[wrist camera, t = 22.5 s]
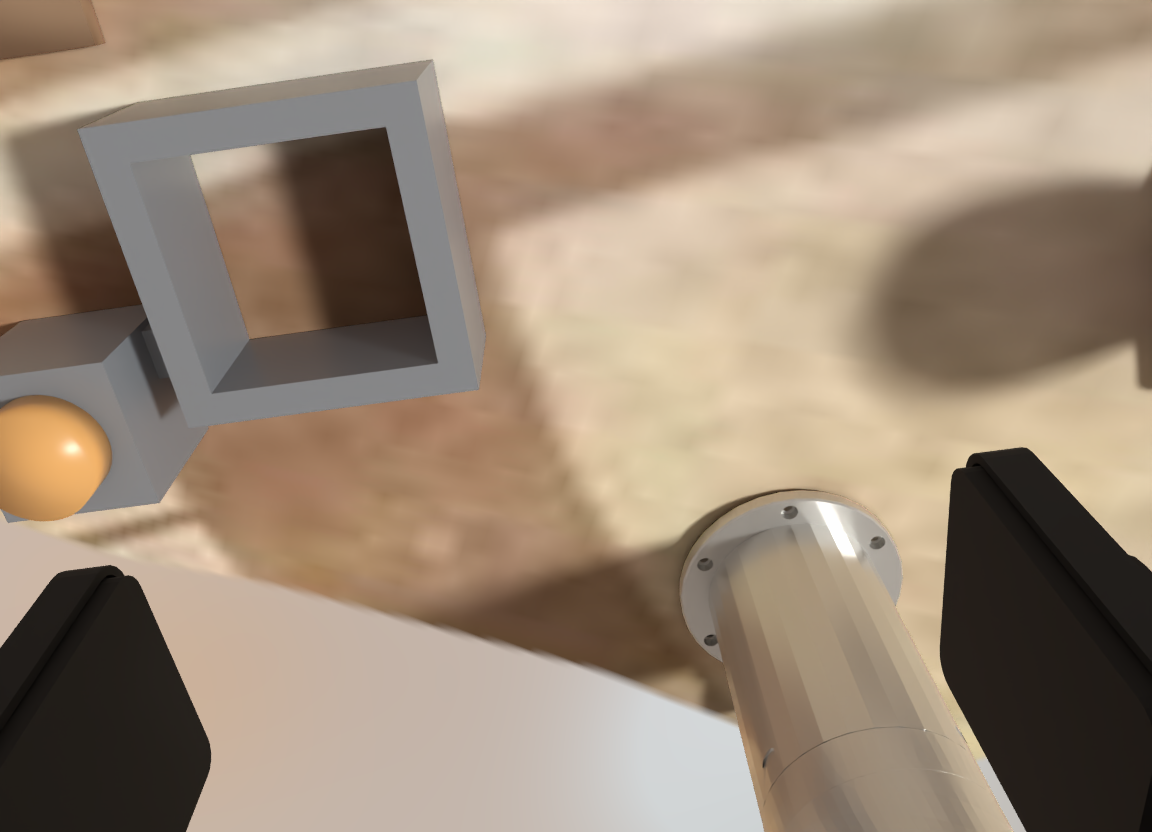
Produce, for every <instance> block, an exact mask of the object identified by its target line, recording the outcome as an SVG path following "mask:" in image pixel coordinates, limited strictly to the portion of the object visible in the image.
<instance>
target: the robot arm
mask: <svg viewBox="0 0 1152 832" xmlns="http://www.w3.org/2000/svg"><path fill="white" fill-rule="evenodd" d="M902 581H903V572H902V561H901V558H900V555H899V552H898V549H897V546H896V544H895V542H894V541H893V539H892V537H891V535H890V534H889V532H888V530H887V529H886V528H885V526H884V525H883V524H882V523H881V522H880V520H879V519H878V518H877V517H876V516H875V515H874V514H872V513H871V512H870V511H868V510H867V509H866V508H864V507H863V506H862V505H860V504H858V503H856V502H854V501H851V500H849V499H847V498H845V497H842V496H838V495H834V494H831V493H827V492H820V491H807V490H798V491H787V492H778V493H774V494H770V495H766V496H762V497H758V498H756V499H754V500H751V501H749V502H747V503H744V504H742V505H740V506H737V507H736V508H734V509H733V510H731V511H729V512H728V513H726V514H725V515H723V516H722V517H720V518H719V519H718V520H717V521H715V522H714V523H713V524H712V525H711V526H710V527H709V528H708V529H706V530H705V531H704V532H703V534H702V535H701V536H700V538H699V539H698V540H697V541H696V543H695V544H694V545H693V547H692V548H691V550H690V552H689V554H688V556H687V558H686V560H685V562H684V565H683V569H682V573H681V577H680V591H679V597H680V602H681V608H682V613H683V616H684V619H685V622H686V625H687V628H688V630H689V631H690V633H691V634H692V636H693V637H694V639H695V640H696V642H697V643H698V644H699V645H700V646H701V647H702V648H703V649H704V650H705V651H706V652H707V653H708V654H709V655H711V656H713V657H714V658H716V659H717V660H719V661H720V662H722V663H723V665H724V669H725V673H726V677H727V681H728V685H729V689H730V693H731V697H732V701H733V705H734V709H735V713H736V717H737V721H738V725H739V729H740V734H741V738H742V742H743V746H744V750H745V754H746V758H747V762H748V766H749V770H750V774H751V778H752V782H753V786H754V790H755V794H756V798H757V802H758V806H759V810H760V815H761V818H762V823H763V828H764V832H1014V831H1013V829H1012V827H1011V826H1010V824H1009V822H1008V820H1007V818H1006V817H1005V815H1004V813H1003V811H1002V810H1001V808H1000V806H999V804H998V802H997V800H996V798H995V796H994V795H993V793H992V791H991V789H990V787H989V785H988V783H987V781H986V780H985V777H984V776H983V774H982V772H981V770H980V768H979V766H978V764H977V762H976V760H975V758H974V756H973V754H972V752H971V750H970V748H969V746H968V744H967V742H966V741H965V739H964V737H963V735H962V733H961V731H960V729H959V727H958V725H957V723H956V722H955V720H954V718H953V716H952V714H951V712H950V710H949V708H948V706H947V704H946V703H945V701H944V699H943V697H942V695H941V693H940V691H939V689H938V687H937V685H936V683H935V681H934V679H933V678H932V676H931V674H930V672H929V670H928V668H927V666H926V664H925V662H924V660H923V658H922V656H921V654H920V653H919V651H918V649H917V647H916V645H915V643H914V641H913V639H912V637H911V635H910V633H909V631H908V629H907V628H906V626H905V624H904V622H903V620H902V618H901V616H900V614H899V612H898V610H897V608H896V604H897V602H898V599H899V597H900V593H901V587H902ZM940 660H941V666H942V670H943V674H944V677H945V679H946V682H947V684H948V686H949V688H950V690H951V692H952V693H953V695H954V697H955V699H956V701H957V703H958V705H959V707H960V708H961V710H962V712H963V714H964V716H965V718H966V720H967V722H968V723H969V725H970V727H971V729H972V731H973V733H974V735H975V736H976V738H977V740H978V742H979V744H980V746H981V748H982V750H983V751H984V753H985V755H986V757H987V759H988V761H989V762H990V764H991V766H992V768H993V770H994V772H995V774H996V776H997V778H998V779H999V781H1000V783H1001V785H1002V787H1003V789H1004V791H1005V792H1006V794H1007V796H1008V798H1009V800H1010V802H1011V804H1012V806H1013V807H1014V809H1015V811H1016V813H1017V815H1018V817H1019V819H1020V820H1021V822H1022V824H1023V826H1024V828H1025V830H1026V832H1152V572H1151V571H1150V570H1149V569H1148V567H1147V566H1145V565H1144V564H1143V563H1142V562H1141V561H1139V560H1138V559H1137V558H1136V557H1133V556H1130V555H1128V554H1127V553H1126V552H1125V551H1124V550H1123V549H1122V548H1121V547H1120V546H1119V544H1118V543H1117V542H1116V541H1115V540H1114V539H1113V538H1112V537H1111V536H1110V535H1109V534H1108V533H1107V532H1106V531H1105V529H1104V528H1103V527H1102V526H1101V525H1100V524H1099V523H1098V522H1097V521H1096V520H1095V519H1094V518H1093V517H1092V516H1091V514H1090V513H1089V512H1088V511H1087V510H1086V509H1085V508H1084V507H1083V506H1082V505H1081V504H1080V503H1079V502H1078V500H1077V499H1076V498H1075V497H1074V496H1073V495H1072V494H1071V493H1070V492H1069V491H1068V490H1067V489H1066V488H1065V487H1064V485H1063V484H1062V483H1061V482H1060V481H1059V480H1058V479H1057V478H1056V477H1055V476H1054V475H1053V474H1052V473H1051V471H1050V470H1049V469H1048V468H1047V467H1046V466H1045V465H1044V464H1043V463H1042V462H1041V461H1040V460H1039V459H1038V458H1037V456H1036V455H1035V454H1034V453H1033V452H1032V451H1030V450H1029V449H1028V448H1023V447H1021V448H1013V449H1005V450H997V451H990V452H982V453H974V454H972V455H971V456H970V457H969V459H968V461H967V464H966V468H959V469H956V470H955V471H954V472H953V474H952V479H951V490H950V505H949V519H948V534H947V549H946V564H945V579H944V594H943V609H942V623H941V638H940ZM210 763H211V749H210V743H209V740H208V738H207V735H206V733H205V731H204V728H203V726H202V724H201V722H200V719H199V717H198V715H197V713H196V710H195V708H194V706H193V703H192V701H191V699H190V697H189V695H188V692H187V690H186V688H185V685H184V683H183V681H182V679H181V676H180V674H179V672H178V670H177V667H176V665H175V663H174V660H173V658H172V656H171V654H170V651H169V649H168V647H167V645H166V642H165V640H164V638H163V635H162V633H161V631H160V629H159V626H158V624H157V622H156V620H155V617H154V615H153V613H152V611H151V608H150V606H149V604H148V601H147V599H146V597H145V595H144V593H143V590H142V588H141V586H140V584H139V582H138V581H137V580H136V579H135V578H134V577H133V576H129V575H128V576H124V574H123V573H122V571H121V570H119V569H118V568H117V567H115V566H111V565H108V566H100V567H93V568H85V569H77V570H69V571H64V572H61V573H58V574H57V575H56V576H55V577H54V578H53V579H52V580H51V581H50V582H49V584H48V585H47V586H46V588H45V589H44V590H43V592H42V593H41V594H40V596H39V597H38V598H37V600H36V601H35V603H34V604H33V605H32V607H31V608H30V609H29V611H28V612H27V613H26V614H25V616H24V617H23V619H22V620H21V621H20V623H19V624H18V625H17V627H16V628H15V629H14V631H13V632H12V633H11V635H10V636H9V637H8V639H7V640H6V641H5V643H4V644H3V645H2V647H1V648H0V832H186V830H187V827H188V825H189V822H190V820H191V817H192V815H193V812H194V809H195V807H196V804H197V802H198V799H199V797H200V794H201V792H202V789H203V786H204V784H205V781H206V779H207V776H208V773H209V770H210Z"/></svg>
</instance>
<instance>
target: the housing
mask: <svg viewBox="0 0 1152 832" xmlns="http://www.w3.org/2000/svg"><path fill="white" fill-rule="evenodd" d="M381 127H386V129H387V134H388V138H389V143H390V147H391V152H392V156H393V161H394V166H395V170H396V175H397V179H398V184H399V188H400V193H401V197H402V202H403V206H404V211H405V215H406V220H407V224H408V229H409V233H410V238H411V242H412V247H413V251H414V256H415V260H416V265H417V269H418V274H419V278H420V283H421V288H422V292H423V297H424V301H425V306H426V310H427V315H426V316H418V317H411V318H404V319H396V320H389V321H382V322H374V323H367V324H360V325H352V326H345V327H338V328H330V329H323V330H316V331H308V332H301V333H294V334H286V335H279V336H272V337H264V338H257V339H250V340H249V336H248V333H247V330H246V327H245V324H244V321H243V318H242V315H241V312H240V309H239V305H238V302H237V299H236V296H235V293H234V290H233V287H232V284H231V281H230V277H229V274H228V271H227V268H226V265H225V262H224V259H223V256H222V253H221V250H220V246H219V243H218V240H217V237H216V234H215V231H214V228H213V225H212V222H211V218H210V215H209V212H208V209H207V206H206V203H205V200H204V197H203V194H202V191H201V187H200V184H199V181H198V178H197V175H196V172H195V169H194V166H193V163H192V159H191V156H190V155H192V154H199V153H206V152H213V151H220V150H227V149H234V148H241V147H248V146H255V145H262V144H269V143H276V142H283V141H290V140H297V139H304V138H311V137H318V136H325V135H332V134H339V133H346V132H353V131H360V130H367V129H374V128H381ZM77 131H78V133H79V136H80V139H81V141H82V144H83V147H84V149H85V152H86V155H87V157H88V160H89V163H90V165H91V168H92V171H93V173H94V176H95V179H96V181H97V184H98V187H99V190H100V192H101V195H102V198H103V200H104V203H105V206H106V208H107V211H108V214H109V216H110V219H111V222H112V224H113V227H114V230H115V232H116V235H117V238H118V240H119V243H120V246H121V248H122V251H123V254H124V256H125V259H126V262H127V264H128V267H129V270H130V273H131V275H132V278H133V281H134V283H135V286H136V289H137V291H138V294H139V297H140V299H141V302H142V305H135V306H128V307H121V308H113V309H106V310H99V311H92V312H84V313H77V314H70V315H63V316H55V317H48V318H41V319H34V320H26V321H21V322H19V323H18V324H17V325H15V326H14V327H13V328H11V329H10V330H9V331H8V332H6V333H5V334H4V335H2V336H1V337H0V409H1V408H2V407H3V406H4V405H6V404H7V403H9V402H10V401H12V400H14V399H17V398H20V397H24V396H30V395H45V396H52V397H56V398H60V399H63V400H66V401H68V402H70V403H72V404H74V405H77V406H78V407H80V408H81V409H83V410H84V411H86V412H87V413H88V414H90V415H91V416H92V417H93V418H94V419H95V420H96V421H97V422H98V423H99V425H100V426H101V427H102V429H103V430H104V432H105V433H106V435H107V437H108V439H109V442H110V445H111V449H112V465H111V468H110V471H109V473H108V475H107V477H106V478H105V479H104V481H103V482H102V483H101V485H100V486H99V487H98V488H97V490H96V491H95V492H94V494H93V495H92V496H91V497H90V499H89V500H88V501H87V502H86V504H85V505H84V506H83V507H82V508H81V509H80V510H79V511H77V512H76V513H75V514H79V513H87V512H94V511H102V510H109V509H117V508H125V507H132V506H140V505H148V504H155V503H160V501H161V500H162V498H163V497H164V495H165V494H166V492H167V491H168V489H169V488H170V486H171V485H172V483H173V482H174V480H175V479H176V477H177V476H178V474H179V472H180V471H181V469H182V468H183V466H184V465H185V463H186V462H187V460H188V459H189V457H190V456H191V454H192V453H193V451H194V450H195V448H196V447H197V445H198V444H199V442H200V441H201V439H202V438H203V436H204V435H205V433H206V432H207V430H208V426H211V425H218V424H226V423H233V422H240V421H248V420H255V419H263V418H270V417H278V416H285V415H293V414H300V413H308V412H315V411H323V410H330V409H338V408H345V407H353V406H360V405H368V404H375V403H383V402H390V401H398V400H405V399H413V398H420V397H428V396H435V395H443V394H450V393H458V392H465V391H473V390H479V385H480V378H481V370H482V363H483V355H484V348H485V340H486V333H485V328H484V323H483V318H482V313H481V307H480V302H479V297H478V292H477V287H476V281H475V276H474V271H473V266H472V260H471V255H470V250H469V245H468V240H467V234H466V229H465V224H464V219H463V214H462V208H461V203H460V198H459V193H458V188H457V182H456V177H455V172H454V167H453V161H452V156H451V151H450V146H449V141H448V135H447V130H446V125H445V120H444V115H443V109H442V104H441V99H440V94H439V89H438V83H437V78H436V73H435V68H434V62H433V60H426V61H419V62H412V63H405V64H399V65H392V66H385V67H378V68H371V69H364V70H357V71H350V72H343V73H337V74H330V75H323V76H316V77H309V78H302V79H295V80H288V81H281V82H274V83H268V84H261V85H254V86H247V87H240V88H233V89H226V90H219V91H212V92H206V93H199V94H192V95H185V96H178V97H171V98H164V99H157V100H150V101H143V102H137V103H135V104H133V105H131V106H128V107H126V108H124V109H122V110H119V111H117V112H115V113H112V114H110V115H108V116H106V117H103V118H101V119H99V120H97V121H94V122H92V123H90V124H88V125H85V126H83V127H81V128H79V129H77ZM1 510H2V509H1ZM2 512H3V514H4V516H5V518H6V520H7V522H8V523H10V522H18V521H25V520H28V519H24V518H20V517H17V516H14V515H12V514H10V513H8V512H5V511H4V510H2Z"/></svg>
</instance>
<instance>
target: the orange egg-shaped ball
mask: <svg viewBox="0 0 1152 832" xmlns="http://www.w3.org/2000/svg"><path fill="white" fill-rule="evenodd" d="M111 465H112V449H111V445H110V442H109V439H108V437H107V435H106V433H105V432H104V430H103V429H102V427H101V426H100V425H99V423H98V422H97V421H96V420H95V419H94V418H93V417H92V416H91V415H90V414H88V413H87V412H86V411H84V410H83V409H81V408H80V407H78V406H77V405H74V404H72V403H70V402H68V401H66V400H63V399H60V398H56V397H52V396H45V395H30V396H24V397H20V398H17V399H14V400H12V401H10V402H9V403H7V404H6V405H4V406H3V407H2V408H1V409H0V509H2V510H4V511H5V512H8V513H10V514H12V515H14V516H17V517H20V518H24V519H28V520H34V521H54V520H60V519H63V518H66V517H69V516H71V515H73V514H75V513H76V512H77V511H79V510H80V509H81V508H82V507H83V506H84V505H85V504H86V502H87V501H88V500H89V499H90V497H91V496H92V495H93V494H94V492H95V491H96V490H97V488H98V487H99V486H100V485H101V483H102V482H103V481H104V479H105V478H106V477H107V475H108V473H109V471H110V468H111Z"/></svg>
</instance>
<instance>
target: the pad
mask: <svg viewBox="0 0 1152 832" xmlns="http://www.w3.org/2000/svg"><path fill="white" fill-rule="evenodd" d="M103 43H105V40H104V37H103V34H102V31H101V28H100V26H99V23H98V20H97V17H96V14H95V11H94V8H93V5H92V2H91V0H0V60H1V59H8V58H15V57H21V56H28V55H35V54H42V53H49V52H55V51H62V50H69V49H76V48H83V47H89V46H96V45H99V44H103Z"/></svg>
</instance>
